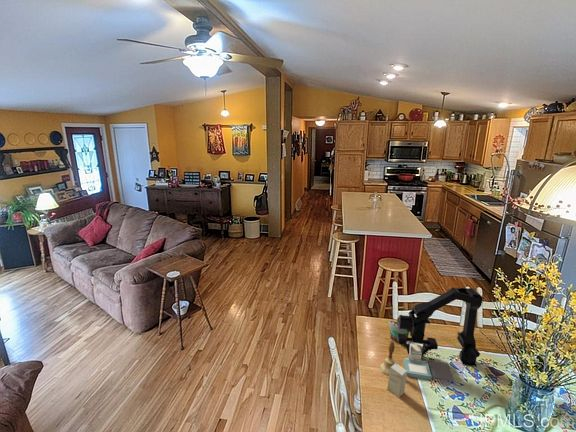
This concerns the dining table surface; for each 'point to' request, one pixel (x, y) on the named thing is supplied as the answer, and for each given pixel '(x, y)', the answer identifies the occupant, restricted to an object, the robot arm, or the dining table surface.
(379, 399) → the dining table surface
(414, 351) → the stub
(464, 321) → the robot arm
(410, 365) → the ticket book
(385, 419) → the dining table surface
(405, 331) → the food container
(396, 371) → the skincare box
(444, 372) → the mat
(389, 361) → the hand bell
